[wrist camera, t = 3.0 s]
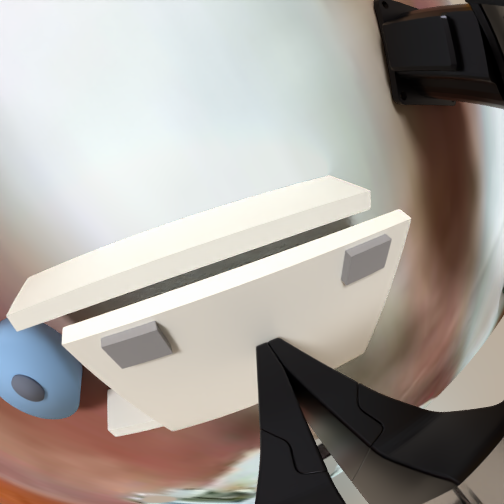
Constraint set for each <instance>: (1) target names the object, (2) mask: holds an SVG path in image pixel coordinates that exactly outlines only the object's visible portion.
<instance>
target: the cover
mask: <svg viewBox="0 0 504 504" xmlns="http://www.w3.org/2000/svg"><path fill="white" fill-rule="evenodd" d="M410 222H411V218H410V217H409V216H408V215H407V214H405V213H404V212H403V211H401V210H400V209H398V210H395V211H392V212H390V213H387V214H384V215H382V216H379V217H376V218H374V219H371V220H368V221H365V222H363V223H360V224H357V225H354V226H352V227H349V228H346V229H344V230H341V231H338V232H335V233H333V234H330V235H327V236H324V237H322V238H319V239H316V240H313V241H310V242H308V243H305V244H302V245H299V246H297V247H294V248H291V249H288V250H285V251H283V252H280V253H277V254H274V255H271V256H269V257H266V258H263V259H260V260H257V261H255V262H252V263H249V264H246V265H243V266H241V267H238V268H235V269H232V270H229V271H226V272H224V273H221V274H218V275H215V276H212V277H209V278H206V279H204V280H201V281H198V282H195V283H192V284H189V285H186V286H183V287H181V288H178V289H175V290H172V291H169V292H166V293H163V294H160V295H157V296H155V297H152V298H149V299H146V300H143V301H140V302H137V303H134V304H131V305H128V306H125V307H122V308H120V309H117V310H114V311H111V312H108V313H105V314H102V315H99V316H96V317H93V318H90V319H87V320H84V321H81V322H78V323H75V324H72V325H69V326H66V327H63V332H62V346H63V347H64V348H65V349H66V350H68V351H69V352H70V353H71V354H72V355H73V356H74V357H75V358H76V359H77V360H78V361H79V362H80V363H81V364H83V365H84V366H85V367H86V368H87V369H88V370H89V371H91V372H92V373H93V374H94V375H95V376H96V377H98V378H99V379H100V380H101V381H102V382H104V383H105V384H106V385H107V386H108V387H110V388H111V389H112V390H114V391H115V392H116V393H117V394H119V395H120V396H121V397H123V398H124V399H125V400H127V401H128V402H129V403H131V404H132V405H133V406H135V407H136V408H138V409H139V410H140V411H142V412H143V413H145V414H146V415H148V416H149V417H151V418H152V419H154V420H155V421H157V422H158V423H160V424H161V425H163V426H165V427H166V428H168V429H169V430H171V431H176V430H180V429H183V428H187V427H190V426H194V425H197V424H201V423H204V422H207V421H210V420H213V419H216V418H219V417H222V416H225V415H228V414H231V413H234V412H237V411H240V410H242V409H245V408H248V407H250V406H253V405H256V404H258V384H257V364H256V346H258V345H260V344H263V343H265V342H266V343H268V341H270V340H272V339H275V338H281V339H283V340H284V341H286V342H288V343H289V344H291V345H293V346H294V347H296V348H298V349H299V350H301V351H303V352H305V353H306V354H308V355H310V356H311V357H313V358H315V359H317V360H318V361H320V362H322V363H324V364H325V365H327V366H329V367H331V368H333V369H335V368H337V367H339V366H341V365H343V364H345V363H347V362H349V361H350V360H352V359H354V358H356V357H358V356H359V355H361V354H363V353H365V351H366V348H367V346H368V344H369V342H370V339H371V337H372V335H373V332H374V330H375V327H376V325H377V322H378V320H379V317H380V315H381V312H382V310H383V307H384V304H385V302H386V299H387V296H388V294H389V291H390V288H391V285H392V282H393V279H394V276H395V273H396V270H397V267H398V264H399V261H400V257H401V254H402V251H403V247H404V244H405V241H406V237H407V233H408V230H409V226H410Z"/></svg>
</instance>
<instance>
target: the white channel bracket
mask: <svg viewBox="0 0 504 504" xmlns="http://www.w3.org/2000/svg"><path fill="white" fill-rule="evenodd" d="M369 209H371V198H370V190H368V189H365V188H363V187H360V186H357V185H355V184H352V183H349V182H347V181H344V180H341V179H338V178H336V177H333V176H330V175H328V176H324V177H320V178H316V179H312V180H308V181H305V182H301V183H297V184H294V185H290V186H286V187H283V188H279V189H276V190H272V191H269V192H265V193H262V194H258V195H255V196H251V197H248V198H245V199H241V200H238V201H235V202H231V203H228V204H225V205H222V206H219V207H215V208H212V209H209V210H206V211H203V212H200V213H197V214H194V215H191V216H187V217H184V218H181V219H179V220H176V221H173V222H170V223H167V224H164V225H161V226H158V227H155V228H152V229H150V230H147V231H144V232H141V233H138V234H136V235H133V236H130V237H127V238H125V239H122V240H119V241H117V242H114V243H111V244H109V245H106V246H103V247H101V248H98V249H96V250H93V251H90V252H88V253H85V254H83V255H80V256H78V257H75V258H73V259H70V260H68V261H66V262H63V263H61V264H58V265H56V266H54V267H51V268H49V269H46V270H44V271H42V272H40V273H37V274H35V275H33V276H30V277H28V279H27V280H26V282H25V283H24V285H23V287H22V288H21V290H20V292H19V294H18V295H17V297H16V299H15V301H14V302H13V304H12V306H11V308H10V310H9V311H8V313H7V315H6V316H7V318H8V319H9V321H10V322H11V324H12V325H13V327H14V328H15V330H16V331H17V332H18V331H21V330H23V329H26V328H29V327H32V326H35V325H38V324H40V323H43V322H46V321H49V320H52V319H55V318H58V317H60V316H63V315H66V314H69V313H72V312H75V311H78V310H80V309H83V308H86V307H89V306H92V305H95V304H98V303H100V302H103V301H106V300H109V299H112V298H115V297H118V296H121V295H123V294H126V293H129V292H132V291H135V290H138V289H141V288H144V287H146V286H149V285H152V284H155V283H158V282H161V281H164V280H167V279H169V278H172V277H175V276H178V275H181V274H184V273H187V272H190V271H192V270H195V269H198V268H201V267H204V266H207V265H210V264H213V263H216V262H218V261H221V260H224V259H227V258H230V257H233V256H236V255H239V254H242V253H244V252H247V251H250V250H253V249H256V248H259V247H262V246H265V245H268V244H270V243H273V242H276V241H279V240H282V239H285V238H288V237H291V236H294V235H297V234H299V233H302V232H305V231H308V230H311V229H314V228H317V227H320V226H323V225H326V224H329V223H331V222H334V221H337V220H340V219H343V218H346V217H349V216H352V215H355V214H358V213H361V212H363V211H366V210H369ZM107 409H108V431H109V432H111V433H112V434H113V435H114V436H115V437H117V436H122V435H127V434H132V433H137V432H141V431H146V430H150V429H154V428H158V427H162V426H163V425H161V424H160V423H158V422H157V421H155V420H154V419H152V418H151V417H149V416H148V415H146V414H145V413H143V412H142V411H140V410H139V409H138V408H136V407H135V406H133V405H132V404H131V403H129V402H128V401H127V400H125V399H124V398H123V397H121V396H120V395H119V394H117V393H116V392H115V391H114V390H112V389H109V390H108V393H107Z"/></svg>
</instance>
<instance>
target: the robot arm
mask: <svg viewBox="0 0 504 504" xmlns="http://www.w3.org/2000/svg"><path fill="white" fill-rule="evenodd" d="M465 1H466V2H467V3H468V4H455V5H446V6H438V7H431V8H425V9H417V8H414V7H411V6H408V5H405V4H402V3H399V2H396V1H393V0H374V7H375V10H376V14H377V18H378V22H379V26H380V30H381V34H382V38H383V43H384V47H385V52H386V57H387V63H388V68H389V74H390V81H391V87H392V94H393V99H394V101H395V102H396V103H397V104H403V105H450V106H454V105H455V104H456V101H460V102H467V103H474V104H480V105H486V106H491V107H496V108H501V109H504V0H465ZM256 364H257V384H258V404H259V424H260V466H259V476H258V484H257V492H256V500H255V504H346V503H345V501H344V500H343V498H342V497H341V495H340V494H339V492H338V490H337V489H336V487H335V485H334V483H333V481H332V479H331V477H330V475H329V473H328V471H327V468H326V465H325V463H324V461H323V459H322V456H321V454H320V452H319V449H318V447H317V445H316V442H315V440H314V438H313V435H312V433H311V431H310V428H309V426H308V424H307V422H308V423H309V425H310V426H311V428H312V429H313V430H314V432H315V433H316V435H317V436H318V437H319V439H320V440H321V442H322V443H323V444H324V446H325V447H326V448H327V450H328V451H329V452H330V454H331V455H332V456H333V458H334V459H335V460H336V462H337V463H338V465H339V466H340V467H341V468H342V470H343V471H344V472H345V474H346V475H347V476H348V478H349V479H350V480H351V481H352V483H353V484H354V485H355V487H356V488H357V489H358V490H359V492H360V493H361V494H362V496H363V497H364V498H365V499H366V501H367V502H368V503H369V504H504V400H503V401H502V402H501V403H499V404H497V405H494V406H490V407H484V408H478V409H470V410H462V411H452V412H434V411H429V410H425V409H422V408H419V407H416V406H413V405H410V404H407V403H404V402H401V401H398V400H395V399H393V398H390V397H388V396H385V395H383V394H380V393H378V392H376V391H374V390H372V389H370V388H368V387H366V386H364V385H362V384H360V383H359V384H358V382H356V381H355V380H353V379H351V378H349V377H347V376H345V375H343V374H342V373H340V372H338V371H336V370H334V369H333V368H331V367H329V366H327V365H325V364H324V363H322V362H320V361H318V360H317V359H315V358H313V357H311V356H310V355H308V354H306V353H305V352H303V351H301V350H299V349H298V348H296V347H294V346H293V345H291V344H289V343H288V342H286V341H284V340H283V339H281V338H275V339H272V340H270V341H268V343H266V342H265V343H263V344H260V345H258V346H256Z"/></svg>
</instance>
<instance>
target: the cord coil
mask: <svg viewBox="0 0 504 504" xmlns="http://www.w3.org/2000/svg"><path fill="white" fill-rule="evenodd" d="M81 380H82V364H81V363H80V362H79V361H78V360H77V359H76V358H75V357H74V356H73V355H72V354H71V353H70V352H69V351H68V350H66V349H65V348H64V347H63V346H62V335H61V334H60V333H58V332H57V331H56V330H54V329H53V328H51V327H49V326H48V325H46V324H44V323H40V324H38V325H35V326H32V327H29V328H26V329H23V330H21V331H18V332H17V331H16V330H15V328H14V327H13V325H12V324H11V322H10V321H9V319H8V318H6V319H4V320H2V321H1V322H0V396H1V397H2V398H3V399H4V400H5V401H6V402H8V403H9V404H11V405H12V406H14V407H15V408H17V409H19V410H21V411H23V412H25V413H27V414H30V415H33V416H36V417H40V418H45V419H62V418H66V417H69V416H71V415H72V414H74V413H75V412H76V411H77V409H78V407H79V402H80V390H81Z"/></svg>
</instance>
